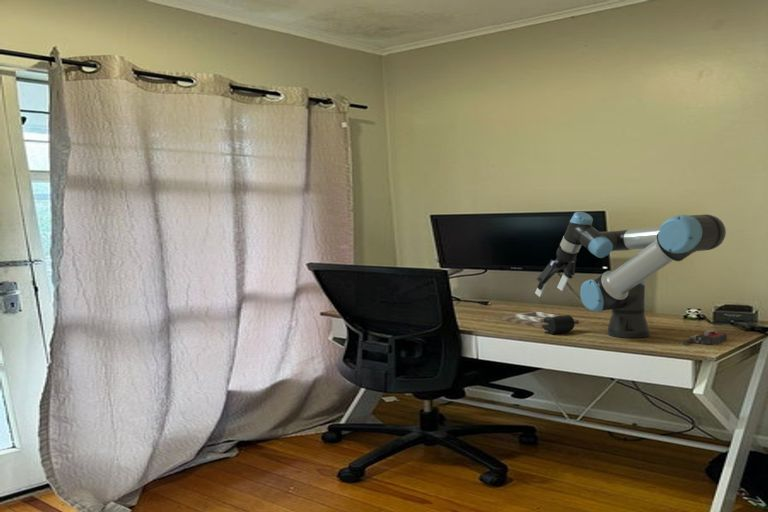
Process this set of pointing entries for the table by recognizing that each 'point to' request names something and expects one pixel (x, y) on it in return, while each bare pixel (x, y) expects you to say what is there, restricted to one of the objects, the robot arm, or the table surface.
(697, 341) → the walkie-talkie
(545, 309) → the table surface
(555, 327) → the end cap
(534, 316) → the lens rest
